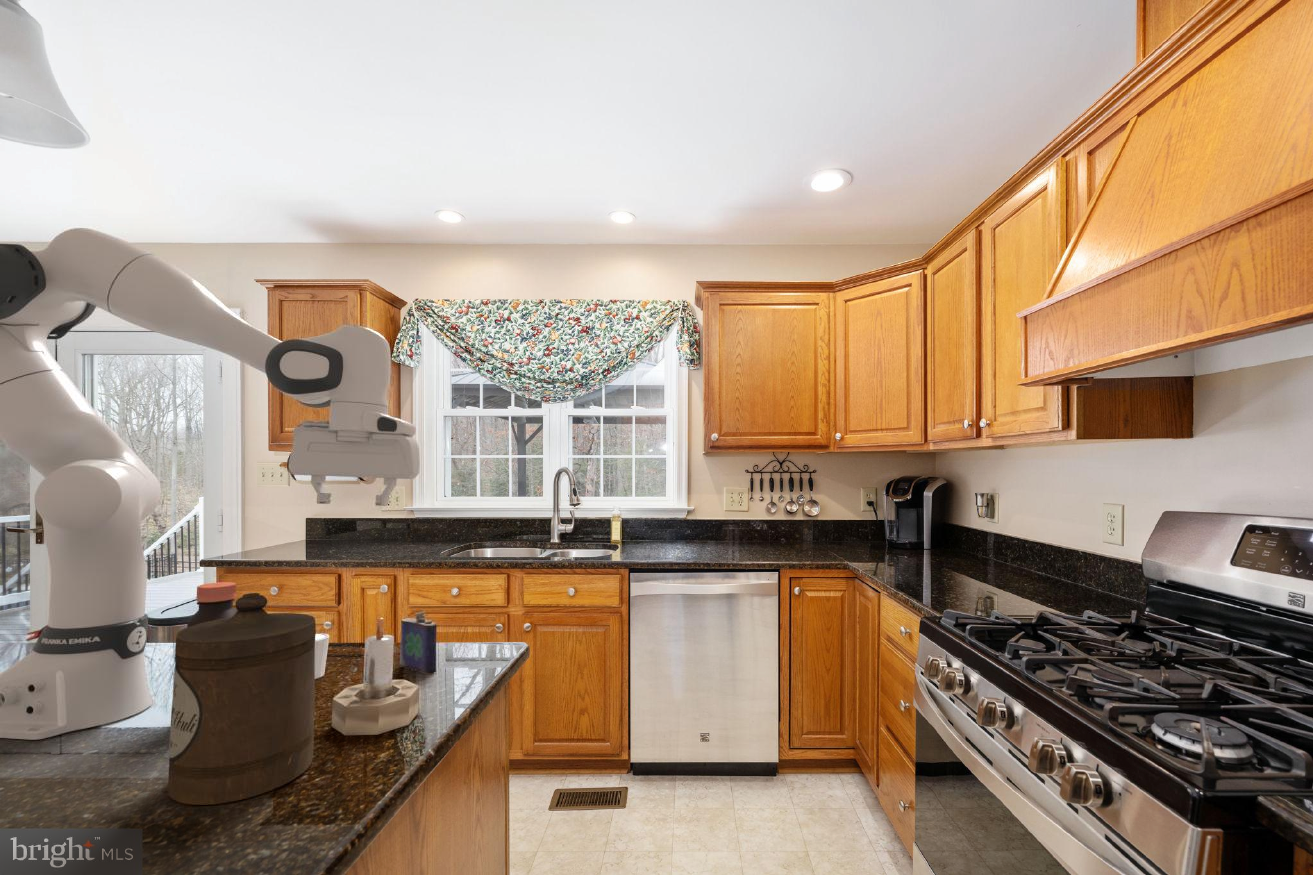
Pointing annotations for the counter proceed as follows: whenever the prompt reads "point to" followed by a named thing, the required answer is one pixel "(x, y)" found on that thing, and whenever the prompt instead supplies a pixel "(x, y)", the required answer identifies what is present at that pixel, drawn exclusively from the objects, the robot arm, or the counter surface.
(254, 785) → the wooden container
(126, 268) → the robot arm
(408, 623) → the flask
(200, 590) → the bottle
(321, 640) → the white short cylinder
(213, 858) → the counter surface
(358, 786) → the counter surface
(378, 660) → the white candle
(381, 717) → the bead
